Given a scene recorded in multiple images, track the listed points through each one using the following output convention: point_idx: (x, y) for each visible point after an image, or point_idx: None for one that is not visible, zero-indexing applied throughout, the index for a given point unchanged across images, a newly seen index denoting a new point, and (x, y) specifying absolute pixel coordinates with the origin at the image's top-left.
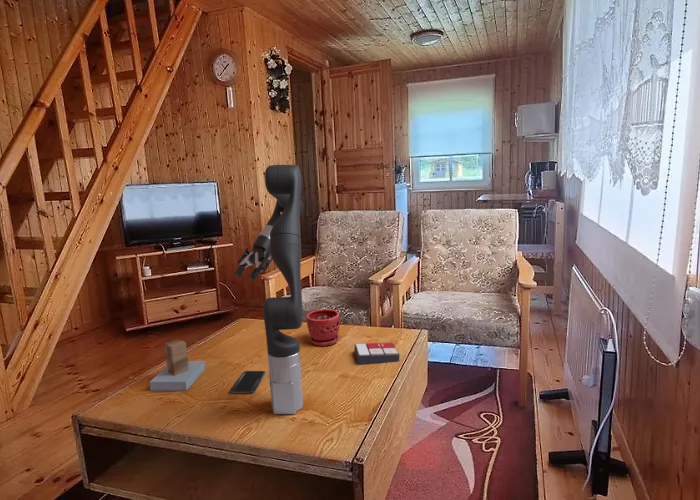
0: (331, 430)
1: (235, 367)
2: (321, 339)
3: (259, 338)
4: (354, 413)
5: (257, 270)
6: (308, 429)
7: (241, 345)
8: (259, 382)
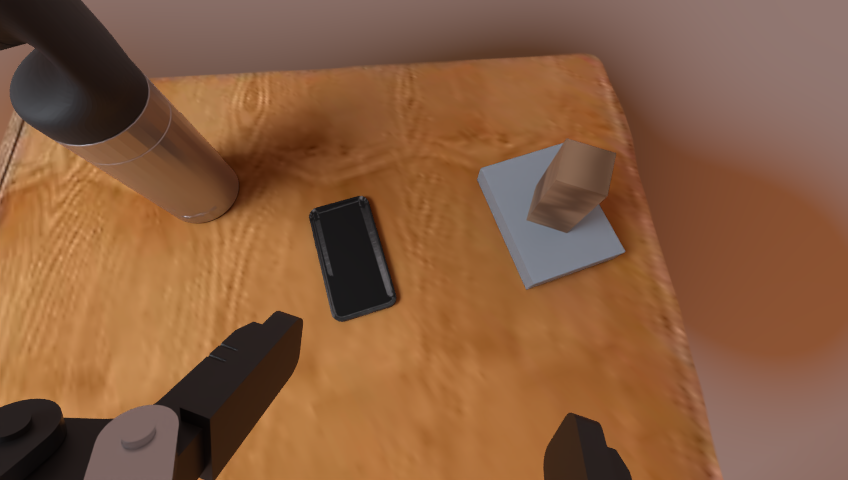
0: None
1: (447, 327)
2: None
3: None
4: (41, 210)
5: (170, 398)
6: None
7: None
8: (319, 260)
